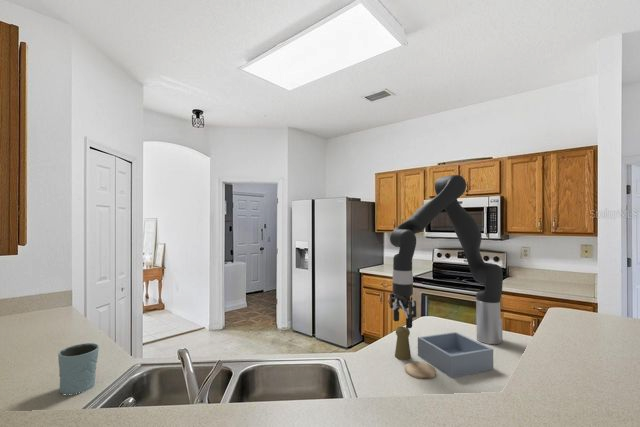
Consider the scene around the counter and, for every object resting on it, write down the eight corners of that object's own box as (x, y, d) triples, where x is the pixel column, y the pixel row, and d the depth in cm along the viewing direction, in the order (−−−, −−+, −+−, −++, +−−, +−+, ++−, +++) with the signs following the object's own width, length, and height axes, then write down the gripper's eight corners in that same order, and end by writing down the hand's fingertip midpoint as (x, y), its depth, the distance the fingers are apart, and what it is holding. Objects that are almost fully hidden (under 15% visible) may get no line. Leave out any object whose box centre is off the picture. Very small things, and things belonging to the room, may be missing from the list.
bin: (455, 349, 127) (455, 331, 127) (493, 369, 110) (493, 349, 110) (417, 355, 122) (417, 337, 122) (451, 377, 105) (451, 356, 105)
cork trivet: (423, 363, 115) (423, 360, 115) (442, 375, 106) (442, 372, 106) (399, 367, 112) (399, 364, 112) (416, 380, 103) (416, 377, 103)
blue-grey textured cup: (68, 381, 102) (69, 344, 102) (104, 378, 105) (104, 341, 105) (49, 399, 92) (50, 357, 93) (89, 394, 95) (89, 354, 95)
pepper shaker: (411, 360, 117) (411, 330, 117) (394, 359, 118) (394, 329, 118) (410, 354, 123) (410, 325, 123) (394, 352, 124) (394, 324, 124)
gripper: (422, 284, 116) (422, 329, 115) (400, 277, 129) (400, 317, 129) (404, 285, 113) (404, 331, 113) (384, 278, 127) (384, 319, 126)
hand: (402, 324), depth 121 cm, fingers open, 8 cm apart
